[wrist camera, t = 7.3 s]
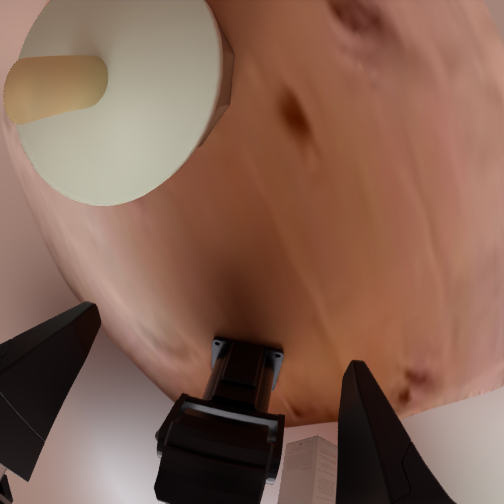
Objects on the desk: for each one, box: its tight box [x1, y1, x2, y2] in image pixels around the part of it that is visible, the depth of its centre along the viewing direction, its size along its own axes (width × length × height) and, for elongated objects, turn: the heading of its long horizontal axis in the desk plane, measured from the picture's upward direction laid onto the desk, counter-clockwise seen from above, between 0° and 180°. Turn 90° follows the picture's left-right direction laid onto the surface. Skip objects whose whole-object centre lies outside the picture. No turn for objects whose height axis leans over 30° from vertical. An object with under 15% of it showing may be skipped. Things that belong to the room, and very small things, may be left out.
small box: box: [278, 436, 338, 504], centre depth 31 cm, size 8×6×10 cm
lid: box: [3, 0, 223, 206], centre depth 10 cm, size 14×14×7 cm
